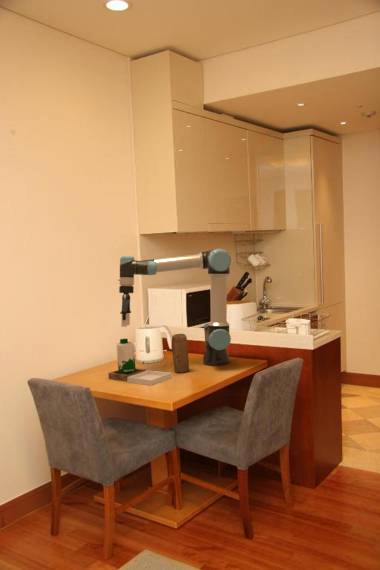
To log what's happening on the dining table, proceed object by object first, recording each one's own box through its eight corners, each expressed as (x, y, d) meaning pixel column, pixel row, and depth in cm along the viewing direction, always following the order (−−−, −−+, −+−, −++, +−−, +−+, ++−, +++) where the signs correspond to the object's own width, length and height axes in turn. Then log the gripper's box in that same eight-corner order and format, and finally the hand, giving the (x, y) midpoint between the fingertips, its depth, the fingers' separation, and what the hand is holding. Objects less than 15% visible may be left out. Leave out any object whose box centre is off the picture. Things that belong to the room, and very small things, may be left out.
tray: (171, 377, 280) (171, 372, 280) (151, 385, 267) (150, 380, 267) (148, 374, 290) (147, 370, 290) (127, 382, 277) (127, 377, 277)
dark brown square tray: (146, 375, 289) (145, 369, 289) (128, 381, 278) (127, 375, 278) (127, 372, 298) (126, 367, 297) (108, 378, 286) (108, 373, 286)
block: (190, 372, 290) (187, 335, 288) (176, 374, 288) (174, 336, 286) (185, 368, 300) (183, 332, 299) (172, 369, 298) (169, 333, 297)
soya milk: (133, 374, 294) (130, 337, 292) (137, 377, 285) (135, 340, 284) (117, 376, 290) (114, 339, 289) (121, 380, 282) (118, 342, 281)
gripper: (122, 285, 299) (121, 324, 299) (116, 285, 274) (115, 327, 274) (135, 286, 299) (134, 324, 299) (131, 285, 274) (130, 327, 274)
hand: (125, 326), depth 286 cm, fingers open, 13 cm apart
